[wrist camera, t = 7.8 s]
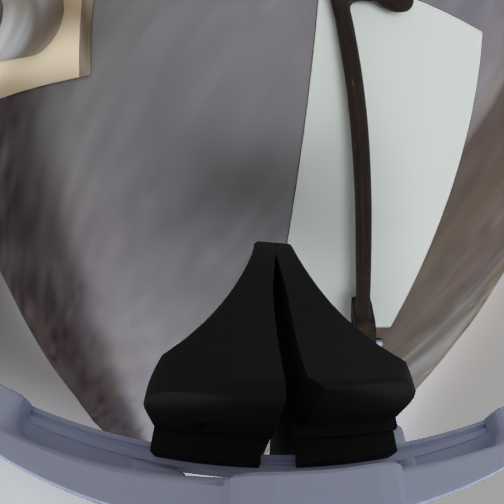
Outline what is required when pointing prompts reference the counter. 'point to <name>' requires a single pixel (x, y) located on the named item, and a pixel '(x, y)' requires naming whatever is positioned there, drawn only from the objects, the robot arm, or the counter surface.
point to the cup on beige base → (43, 42)
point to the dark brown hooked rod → (360, 158)
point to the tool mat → (383, 147)
